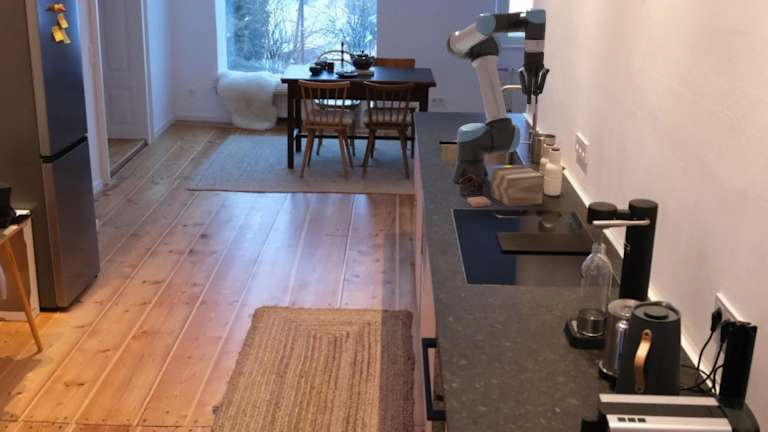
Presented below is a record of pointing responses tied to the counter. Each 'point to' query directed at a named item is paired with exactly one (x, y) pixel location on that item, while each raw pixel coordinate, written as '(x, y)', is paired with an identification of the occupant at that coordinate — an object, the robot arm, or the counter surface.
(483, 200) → the tile
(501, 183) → the oak block
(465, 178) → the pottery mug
